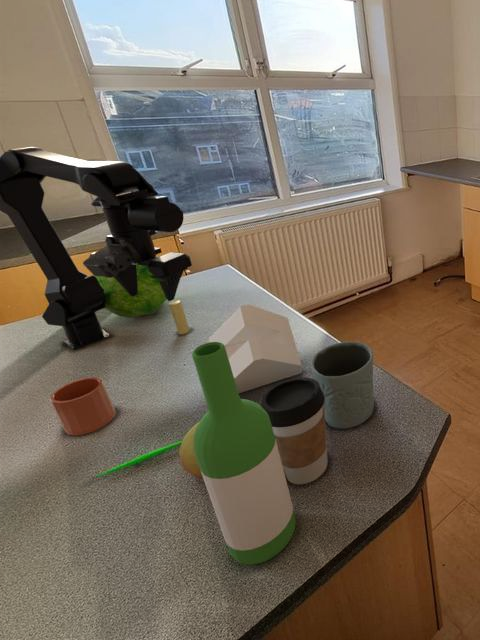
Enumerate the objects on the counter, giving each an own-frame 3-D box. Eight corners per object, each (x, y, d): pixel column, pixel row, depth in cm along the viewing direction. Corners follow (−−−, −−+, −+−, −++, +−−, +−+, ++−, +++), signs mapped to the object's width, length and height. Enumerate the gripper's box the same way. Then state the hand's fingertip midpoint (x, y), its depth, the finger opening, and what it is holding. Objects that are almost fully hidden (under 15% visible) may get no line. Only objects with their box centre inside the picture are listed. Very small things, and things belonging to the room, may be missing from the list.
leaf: (90, 479, 65) (88, 475, 64) (201, 434, 73) (200, 431, 73) (90, 483, 64) (88, 479, 64) (202, 437, 72) (201, 434, 72)
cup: (59, 426, 74) (43, 393, 72) (106, 403, 80) (93, 372, 77) (74, 441, 71) (58, 408, 69) (122, 416, 77) (109, 385, 74)
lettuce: (102, 297, 115) (176, 289, 124) (91, 336, 98) (178, 323, 107) (93, 246, 110) (170, 241, 120) (80, 276, 94) (171, 269, 103)
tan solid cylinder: (176, 332, 102) (166, 303, 99) (186, 328, 104) (177, 299, 101) (181, 335, 101) (171, 305, 98) (191, 331, 103) (182, 301, 100)
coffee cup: (315, 497, 63) (297, 416, 57) (264, 486, 64) (242, 406, 58) (346, 452, 70) (333, 377, 65) (300, 443, 72) (284, 369, 66)
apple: (274, 448, 71) (264, 410, 68) (219, 498, 62) (205, 457, 59) (229, 433, 74) (218, 395, 71) (171, 478, 65) (155, 438, 62)
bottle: (217, 569, 53) (142, 371, 42) (252, 511, 60) (196, 328, 49) (280, 569, 53) (222, 372, 42) (307, 511, 61) (264, 329, 49)
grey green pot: (341, 389, 84) (333, 337, 80) (389, 397, 82) (383, 345, 78) (309, 427, 75) (297, 371, 70) (361, 437, 73) (353, 380, 69)
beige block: (226, 404, 85) (210, 373, 71) (215, 354, 89) (198, 315, 75) (302, 379, 92) (301, 346, 78) (289, 334, 96) (285, 295, 83)
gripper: (43, 237, 79) (74, 311, 85) (128, 246, 76) (154, 322, 82) (106, 219, 89) (130, 287, 95) (183, 226, 86) (203, 296, 92)
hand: (152, 297), depth 91 cm, fingers open, 9 cm apart
